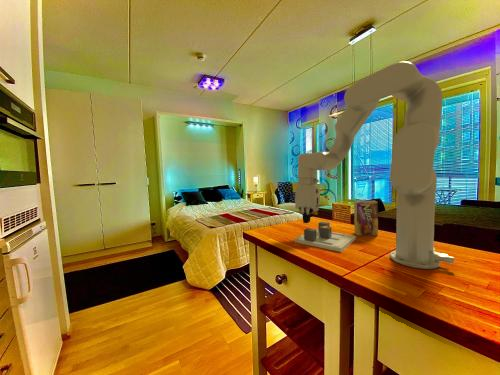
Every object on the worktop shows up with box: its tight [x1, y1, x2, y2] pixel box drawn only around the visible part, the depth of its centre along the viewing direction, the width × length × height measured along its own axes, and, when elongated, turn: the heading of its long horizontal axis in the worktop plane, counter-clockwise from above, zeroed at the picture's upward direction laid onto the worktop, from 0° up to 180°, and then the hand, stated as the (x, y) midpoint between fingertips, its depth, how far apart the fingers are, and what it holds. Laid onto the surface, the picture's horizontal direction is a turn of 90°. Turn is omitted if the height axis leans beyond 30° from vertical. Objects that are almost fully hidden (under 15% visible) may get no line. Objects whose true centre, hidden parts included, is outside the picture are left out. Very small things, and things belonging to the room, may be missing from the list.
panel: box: [294, 228, 357, 253], centre depth 91 cm, size 19×18×2 cm
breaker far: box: [317, 221, 331, 231], centre depth 98 cm, size 4×3×4 cm
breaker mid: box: [319, 226, 333, 238], centre depth 91 cm, size 4×3×4 cm
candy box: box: [353, 200, 379, 236], centre depth 97 cm, size 9×4×15 cm, turn 79°
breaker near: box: [303, 227, 317, 241], centre depth 88 cm, size 4×3×4 cm
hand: (306, 222), depth 96 cm, fingers closed
